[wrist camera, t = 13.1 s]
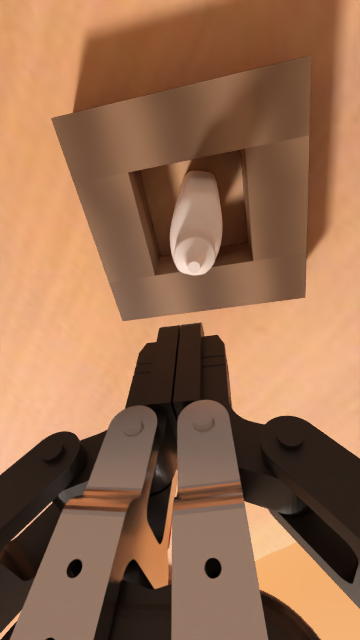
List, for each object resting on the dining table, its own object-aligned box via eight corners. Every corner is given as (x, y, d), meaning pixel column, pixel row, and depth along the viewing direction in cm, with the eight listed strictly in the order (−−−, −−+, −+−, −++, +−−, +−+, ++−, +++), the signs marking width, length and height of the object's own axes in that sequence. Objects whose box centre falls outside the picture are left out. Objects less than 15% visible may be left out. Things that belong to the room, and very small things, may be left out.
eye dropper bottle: (158, 218, 28) (133, 285, 18) (195, 159, 25) (189, 198, 15) (199, 246, 29) (197, 322, 19) (239, 191, 26) (260, 248, 16)
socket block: (295, 61, 21) (311, 55, 18) (294, 275, 30) (305, 297, 27) (72, 115, 24) (51, 118, 21) (130, 298, 33) (122, 321, 29)
